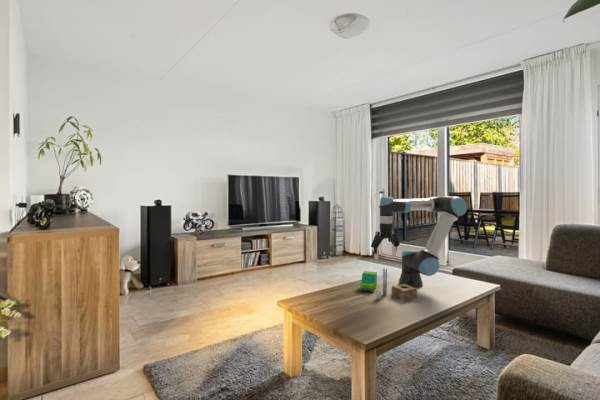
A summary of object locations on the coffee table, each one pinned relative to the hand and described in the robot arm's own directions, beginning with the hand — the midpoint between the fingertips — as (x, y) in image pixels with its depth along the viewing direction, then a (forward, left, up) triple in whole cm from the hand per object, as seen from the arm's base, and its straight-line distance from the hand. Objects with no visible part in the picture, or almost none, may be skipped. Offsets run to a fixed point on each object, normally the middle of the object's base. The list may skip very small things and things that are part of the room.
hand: (385, 258), depth 203 cm
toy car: (-13, -2, -23) cm, 26 cm away
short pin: (+5, -9, -23) cm, 25 cm away
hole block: (+8, +8, -23) cm, 25 cm away
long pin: (0, 0, -23) cm, 23 cm away
